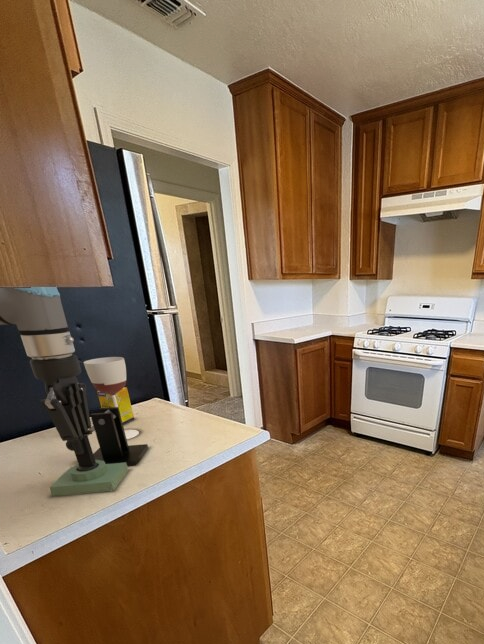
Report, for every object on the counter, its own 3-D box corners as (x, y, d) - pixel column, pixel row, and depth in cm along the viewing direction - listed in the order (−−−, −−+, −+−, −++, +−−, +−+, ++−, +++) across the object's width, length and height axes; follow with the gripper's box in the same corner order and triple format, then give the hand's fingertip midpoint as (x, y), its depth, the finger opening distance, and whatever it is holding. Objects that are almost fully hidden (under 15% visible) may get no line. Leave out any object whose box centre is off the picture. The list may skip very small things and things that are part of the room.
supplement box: (105, 424, 112) (96, 391, 107) (119, 418, 117) (111, 386, 113) (121, 425, 110) (112, 392, 106) (134, 419, 116) (127, 386, 112)
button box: (52, 496, 74) (46, 479, 72) (73, 475, 82) (68, 459, 80) (113, 490, 75) (109, 474, 74) (128, 470, 83) (124, 455, 82)
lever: (71, 455, 86) (60, 446, 85) (77, 449, 89) (66, 441, 87) (113, 421, 84) (102, 411, 83) (118, 416, 87) (108, 407, 86)
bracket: (83, 469, 84) (67, 419, 79) (100, 451, 93) (87, 405, 88) (136, 465, 86) (123, 416, 81) (148, 448, 95) (137, 402, 90)
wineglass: (146, 433, 104) (129, 359, 96) (112, 444, 98) (90, 365, 89) (133, 426, 110) (116, 355, 101) (100, 436, 103) (78, 361, 94)
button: (76, 477, 76) (74, 470, 75) (84, 469, 79) (82, 462, 78) (94, 476, 76) (92, 468, 76) (101, 468, 79) (99, 461, 79)
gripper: (56, 361, 62) (93, 477, 71) (89, 349, 74) (117, 450, 83) (9, 363, 61) (52, 481, 70) (50, 351, 73) (82, 453, 82)
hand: (87, 464), depth 77 cm, fingers closed
